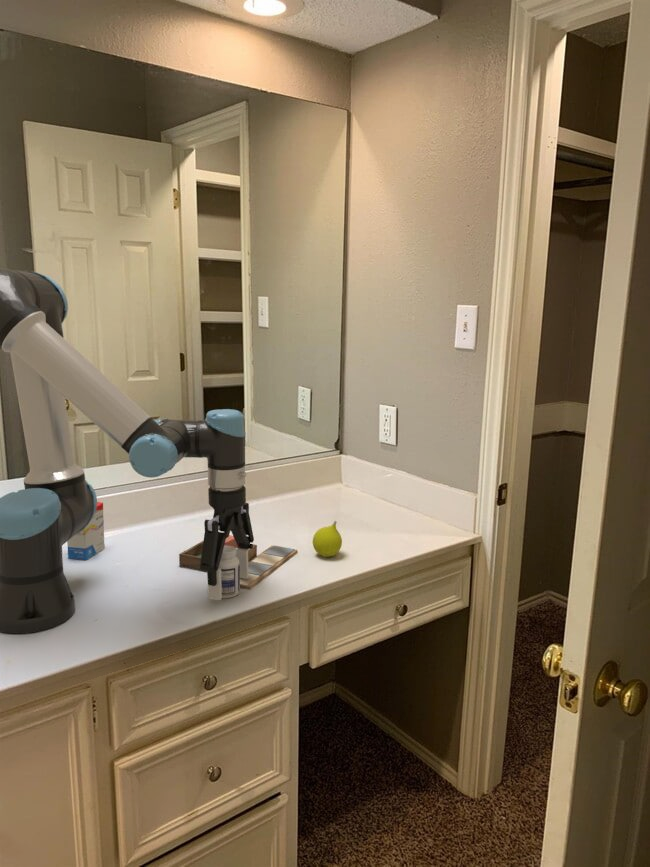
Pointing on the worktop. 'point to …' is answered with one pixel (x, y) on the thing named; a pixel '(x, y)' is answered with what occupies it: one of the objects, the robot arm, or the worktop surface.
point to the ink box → (88, 538)
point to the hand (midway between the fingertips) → (229, 587)
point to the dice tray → (193, 556)
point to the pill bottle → (230, 572)
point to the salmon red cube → (231, 542)
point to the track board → (266, 564)
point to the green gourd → (327, 541)
